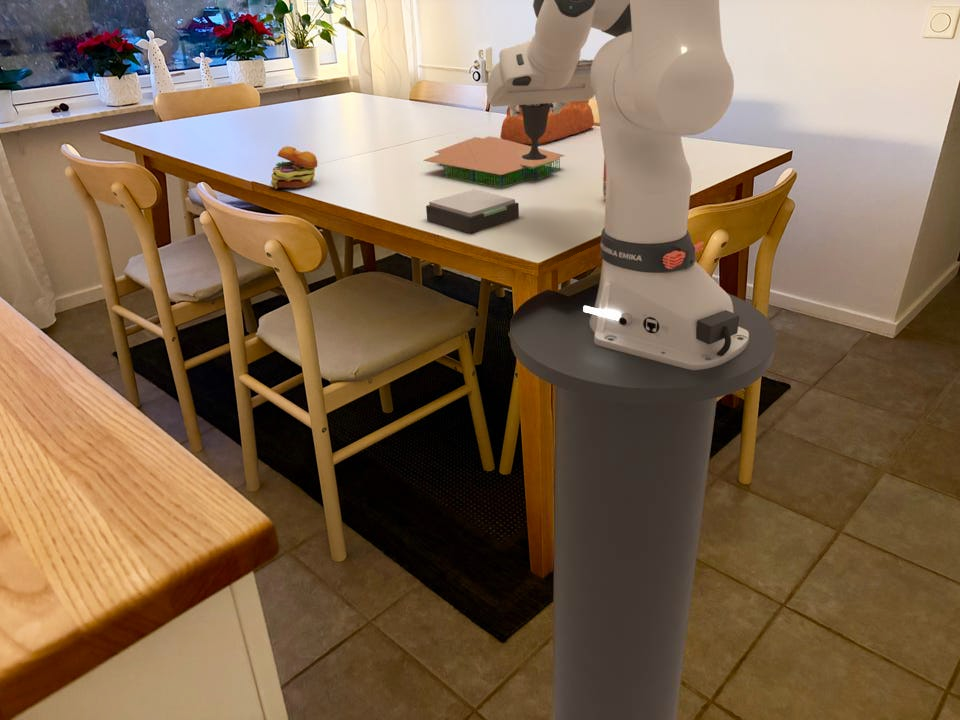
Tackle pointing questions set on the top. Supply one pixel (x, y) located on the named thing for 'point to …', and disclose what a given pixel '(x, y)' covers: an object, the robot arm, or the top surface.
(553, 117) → the bread
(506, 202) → the scale
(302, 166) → the cheeseburger
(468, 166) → the house
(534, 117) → the sundae
